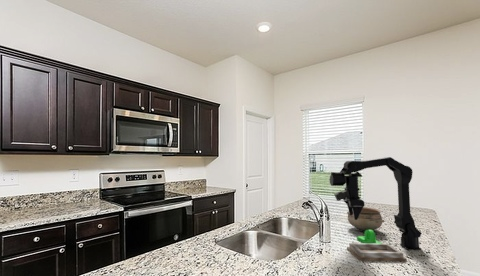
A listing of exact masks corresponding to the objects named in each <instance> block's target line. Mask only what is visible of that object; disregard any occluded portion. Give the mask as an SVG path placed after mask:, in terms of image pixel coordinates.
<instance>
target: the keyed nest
mask: <svg viewBox="0 0 480 276" xmlns="http://www.w3.org/2000/svg"><path fill="white" fill-rule="evenodd" d="M381 243H382V242H381ZM381 243H362V242H360V243H359V242H358V243H356V242H349V244H348V246H347V247H346V250H347V251H348V252H349V253H350V254H351V255H353V256H354V257H355V258H356V259H357V261H368V262H369V261H371V262H372V261H377V262H379V261H382V262H390V261H391V262H408V258H406V257H405V256H404V253H403V252H402V251H400V250H398V249H397V248H395V247H394V246H392V245H391V244H389V243H383V244H381Z"/></svg>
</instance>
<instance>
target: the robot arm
mask: <svg viewBox="0 0 480 276" xmlns="http://www.w3.org/2000/svg"><path fill="white" fill-rule="evenodd" d="M383 166H385V167H387V168H388V169H389V170H390V171H392V172H393V177H394V179H395V181H396V183H397V196H398V198H397V199H398V213H397V214H394V215H393V217H394V224H395V227H397V228H398V230H399V232H400V233H401V236H400V246H401V247H403V248H405V249H406V250H422V248H421V247H420V241H419V240H420V238H421V236H422V232H421V231H420V230H419V229H418V228H417V227H416V224H415V220H414V218H413V215H412V213H411V197H410V183H411V181H412V179H413V169H412V167H410V166H408V165H405V164H403V162H400V161H398V160H396V159H394V158H393V157H390V156H389V157H386V156H385V157H382V158H373V159H369V160H368V159H367V160H346V161H345V162H344V163H343V167H342V168H341V170H340V171H339V172H334V171H332V172H330V175H329V184H330V186H331V187H344V185H345V187H344V190H340V191H337V192H335V193H334V198H335V200H336V201H337V202H338V201H341V200H342V201H343V202H344V203H345V204H346V206H347V209H348V211H349V213H350V215H354V219H355V220H357V219H358V217H359V215H360V212H361V210H362V208H363V207H366V205H365V201H364V200H363V199H361V197H360V194H359V192H360V191H361V190H360V188H359V178H360V177H361V178H363V175H362V174H361V173H360V171H363V170H365V169H370V168H377V167H383Z"/></svg>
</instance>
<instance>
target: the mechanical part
mask: <svg viewBox="0 0 480 276" xmlns="http://www.w3.org/2000/svg"><path fill="white" fill-rule="evenodd" d="M356 240H357V241H358V242H360V243H381V244H384V243H383V242H381V241H378V240H377V237H376V233H375V230H366V231H365V232H364V236H356Z"/></svg>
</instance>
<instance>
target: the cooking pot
mask: <svg viewBox="0 0 480 276" xmlns="http://www.w3.org/2000/svg"><path fill="white" fill-rule="evenodd" d="M381 212H382V211H381V209H377V208H373V207H368V206H367V207H366V206H364V207H363V208H362V210H361V212H360V215H359V217H358V219H357V220H355V219H354V215H350V213H349V210H348V211H347V213H346V214H347V221H348V223H349V224H350V225H351V226H352V227H354V228H355V229H357V230H358V231H360V232H363V233H365V231H366V230H373V231H375V230H377V229H380V228H381V227H382V225H383V222H385V219H383V218H382V215H381Z"/></svg>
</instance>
